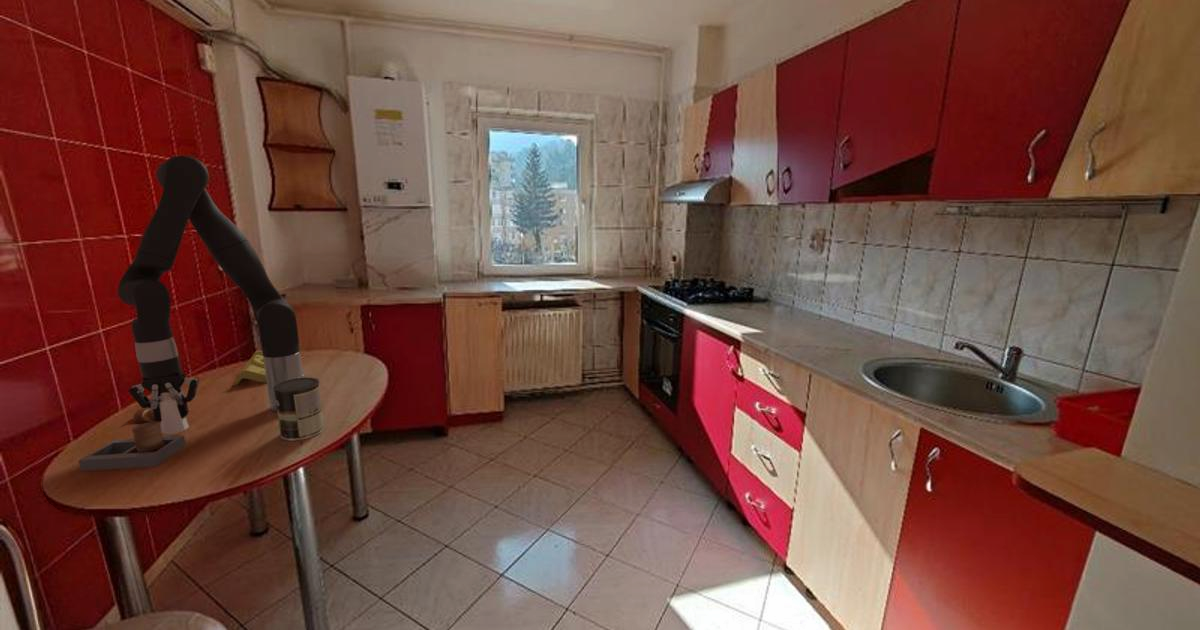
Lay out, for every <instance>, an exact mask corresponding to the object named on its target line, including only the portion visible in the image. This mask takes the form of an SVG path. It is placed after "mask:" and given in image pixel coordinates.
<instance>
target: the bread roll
mask: <svg viewBox="0 0 1200 630" xmlns="http://www.w3.org/2000/svg"><path fill="white" fill-rule="evenodd" d="M132 420H133V422H134V423H135V424H137V425H140V424H143V423H148V422H159V421H158V420H156V419H155V417H154V413H153V409H151V408H142V407H141V408H139V409H138V410H136V411H135V412H134V414H133V415H132Z"/></svg>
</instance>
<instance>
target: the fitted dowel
mask: <svg viewBox="0 0 1200 630" xmlns="http://www.w3.org/2000/svg"><path fill="white" fill-rule="evenodd" d="M131 430H132V434H133V435H132V436H133V438H134V440H135V444H136V449H137V453H145V452H156V451H158V450H159V449H161V448H162V447H164V446H165V445H164V440H163V437H164V436H163V433H162V430H161V422H148V423H143V424H137V425H135V426H133V427H132V429H131Z"/></svg>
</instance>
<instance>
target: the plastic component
mask: <svg viewBox="0 0 1200 630" xmlns="http://www.w3.org/2000/svg"><path fill="white" fill-rule="evenodd" d="M244 379H247V380H251V381H254V382H258V383H264V384H265V383H266V384H267V379H266V373H265V366H264V360H263V353H262V350H256V351H254V353H253V354H252V356H251V358H250V359H249V360H248V362H247V363H246V365H245V366H244V368H243V369H242V371H241V372H240V373H239V374H238V376H237V378H236V379H235V380H234V383H233V384H232V386H235V387H236V386H238V384H239V383H240V382H241V380H244Z"/></svg>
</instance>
